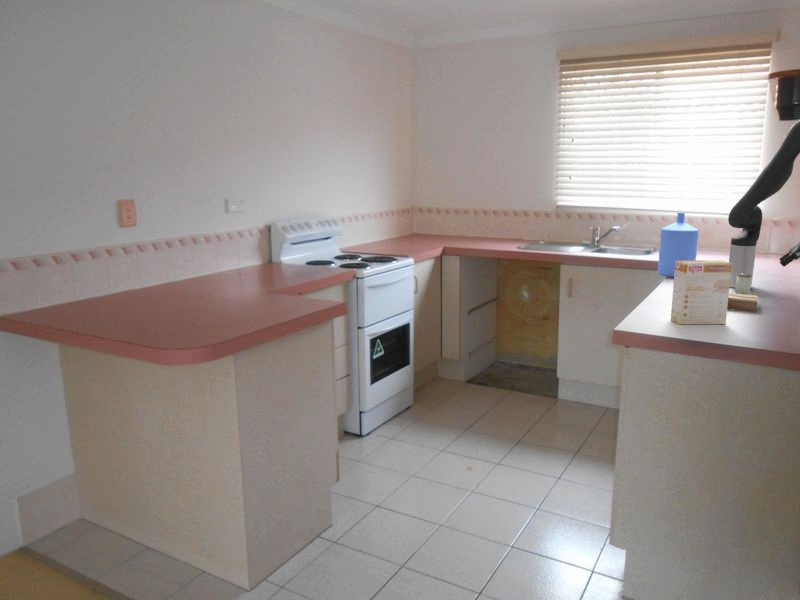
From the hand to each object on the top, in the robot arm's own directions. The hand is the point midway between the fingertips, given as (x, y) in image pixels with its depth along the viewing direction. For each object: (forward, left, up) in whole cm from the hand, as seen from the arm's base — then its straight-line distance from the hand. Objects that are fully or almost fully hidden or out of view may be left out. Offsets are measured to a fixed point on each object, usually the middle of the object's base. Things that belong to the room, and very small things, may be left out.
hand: (781, 263), depth 234 cm
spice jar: (0, -11, -15) cm, 19 cm away
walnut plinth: (+14, -11, -15) cm, 23 cm away
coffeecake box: (+45, -22, -15) cm, 52 cm away
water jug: (-50, -39, -15) cm, 65 cm away
